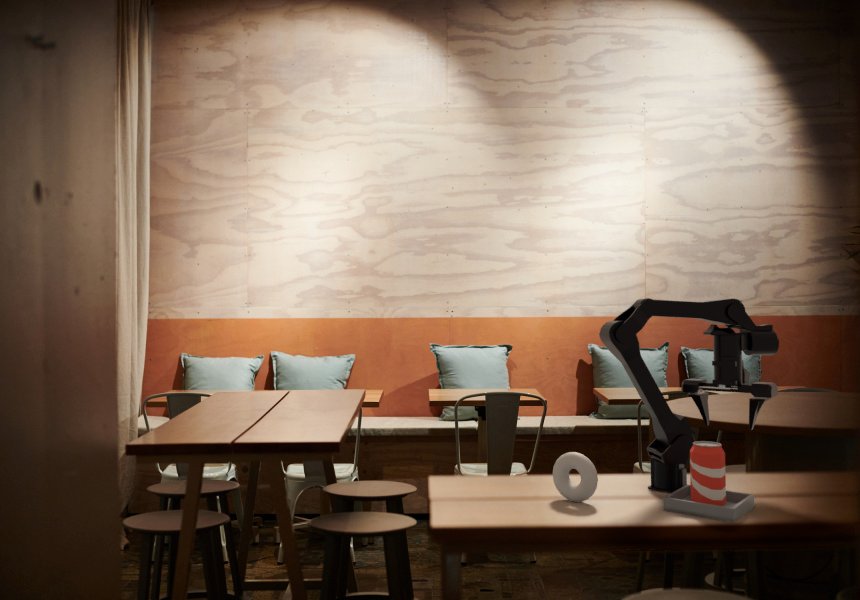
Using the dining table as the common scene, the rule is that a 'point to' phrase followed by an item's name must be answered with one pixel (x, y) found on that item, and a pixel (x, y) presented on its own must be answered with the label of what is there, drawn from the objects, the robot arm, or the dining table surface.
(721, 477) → the beverage can
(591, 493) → the donut
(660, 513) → the dining table surface
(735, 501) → the tray
